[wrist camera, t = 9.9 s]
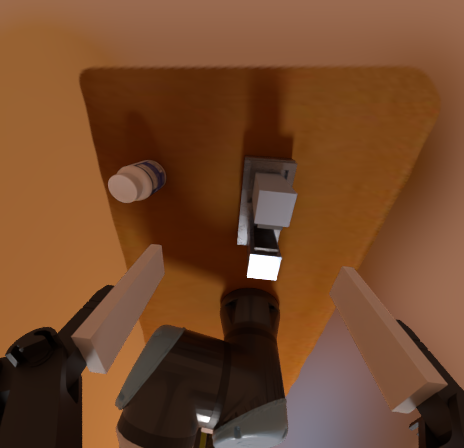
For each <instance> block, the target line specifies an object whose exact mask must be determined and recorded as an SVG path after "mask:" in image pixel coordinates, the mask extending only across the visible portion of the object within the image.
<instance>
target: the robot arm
mask: <svg viewBox="0 0 464 448" xmlns="http://www.w3.org/2000/svg"><path fill="white" fill-rule="evenodd" d="M164 274H165V273H164V264H163V255H162V245H156V244H151V245H150V246H149V247H148V248H147V249H146V250H145V252H144V253H143V254H142V255H141V256H140V257H139V259H138V260H137V261H136V262H135V263H134V264H133V266H132V267H131V268H130V269H129V270H128V271H127V272H126V274H125V275H124V276H123V277H122V278H121V279H120V281H119V282H118V283H117V284H116V285H115V286H112V285H107V286H105V287H103V288H102V289H100V290H99V291H97V292H96V293H95V294H94V295H93V296H92V298H91V299H90V300H89V302H87V303H86V304H85V305H84V306H83V308H82V309H80V310H79V311H78V312H77V313H76V315H74V317H73V318H72V319H71V320H70V321H69V322H68V323H67V324H66V325H65V326H64V327H63V328H62V329H61V330H60V331H59V332H58V333H57V332H56V331H55V330H54V329H53V328H51V327H43V328H39V329H35V330H33V331H31V332H29V333H27V334H25V335H24V336H22V337H21V338H19V339H18V340H16V342H14V344H12V346H10V348H9V349H8V351H7V353H6V354H5V356H6V357H3V358H0V448H82V376H81V373H82V371H83V370H84V369H85V367H86V366H87V367H88V369H89V370H90V372H96V373H103V374H106V373H107V372H108V370H109V368H110V367H111V365H112V363H113V362H114V360H115V358H116V356H117V355H118V353H119V351H120V350H121V348H122V346H123V344H124V343H125V341H126V339H127V337H128V336H129V334H130V332H131V331H132V329H133V327H134V325H135V324H136V322H137V320H138V319H139V317H140V315H141V313H142V312H143V310H144V308H145V307H146V305H147V303H148V301H149V300H150V298H151V296H152V295H153V293H154V291H155V289H156V288H157V286H158V284H159V282H160V281H161V279H162V277H163V276H164ZM329 294H330V296H331V298H332V300H333V302H334V304H335V306H336V307H337V309H338V311H339V313H340V315H341V317H342V319H343V321H344V322H345V324H346V326H347V328H348V330H349V332H350V334H351V336H352V338H353V339H354V341H355V343H356V345H357V347H358V349H359V351H360V353H361V354H362V357H363V359H364V360H365V362H366V364H367V366H368V368H369V370H370V372H371V374H372V375H373V378H374V379H375V381H376V383H377V385H378V387H379V389H380V391H381V392H382V395H383V396H384V398H385V400H386V402H387V404H388V406H389V408H390V410H391V411H394V412H402V413H410V412H411V411H412V410H414V409H415V408H417V409H418V411H419V413H420V414H421V417H420V418H418V419H417V420H415V421H414V422H412V423H411V424H410V426H409V429H410V430H414V429H416V428H417V427H419V428H418V431H419V433H417V435H418V436H419V448H464V390H463V389H462V388H461V387H460V386H459V385H458V384H457V383H456V382H455V380H454V379H453V378H452V377H451V376H450V374H449V373H448V372H447V371H446V370H445V369H444V367H443V366H442V365H441V364H440V363H439V362H438V360H437V359H436V358H435V357H434V356H433V355H432V353H431V352H430V351H428V349H427V347H426V346H425V345H424V344H423V343H422V342H420V339H419V338H418V337H417V336H416V335H415V333H414V332H413V331H412V330H411V329H410V328H409V327H408V326H406V325H405V324H404V323H403V322H402V321H400V320H395V318H394V317H393V316H392V315H391V314H390V312H388V310H387V309H386V307H385V306H384V305H383V304H382V302H381V301H380V300H379V299H378V298H377V296H376V295H375V294H374V293H373V291H372V290H371V289H370V288H369V286H368V285H367V284H366V283H365V282H364V280H363V279H362V278H361V277H360V276H359V274H358V273H357V272H356V270H355V269H354V268H353V267H344V266H342V268H341V270H340V272H339V274H338V276H337V278H336V280H335V282H334V284H333V287H332V289H331V291H330V293H329ZM220 318H221V323H222V328H223V333H224V341H223V340H220V339H217V338H213V337H210V336H207V335H203V334H200V333H197V332H193V331H190V330H187V329H186V328H184V327H183V328H179V327H175V326H171V325H162V326H160V327H159V328H158V329H157V330H156V331H155V332H154V333H153V335H152V336H151V338H150V339H149V341H148V342H147V344H146V346H145V348H144V349H143V351H142V353H141V354H140V356H139V358H138V359H137V361H136V363H135V364H134V366H133V368H132V370H131V372H130V373H129V375H128V377H127V379H126V381H125V383H124V385H123V387H122V389H121V391H120V393H119V395H118V397H117V399H116V402H115V405H116V406H117V407H118V409H119V410H122V409H123V412H122V414H121V416H120V419H119V421H118V424H117V426H116V433H117V437H118V441H119V448H193V446H194V443H195V439H196V434H197V431H198V428H199V427H202V428H207V429H211V430H213V433H212V439H213V445H214V447H215V448H271V447H274V446H276V445H279V444H280V443H281V442H283V440H284V439H285V438H286V436H287V433H288V420H287V408H286V402H287V401H286V399H285V393H284V387H283V380H282V373H281V367H280V360H279V353H278V347H277V333H278V327H279V321H280V310H279V305H278V303H277V301H276V299H275V298H274V297H273V296H272V295H270V294H269V293H267V292H265V291H262V290H258V289H252V288H245V289H239V290H235V291H233V292H231V293H229V294H228V295H226V296H225V297H224V299H223V300H222V303H221V308H220Z"/></svg>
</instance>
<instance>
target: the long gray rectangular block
mask: <svg viewBox="0 0 464 448" xmlns="http://www.w3.org/2000/svg"><path fill="white" fill-rule="evenodd" d="M296 197H297V193H296V192H295V191H294V189H293V188H292V187H291V186H290V184H289V183H288V182H287V181H286V179H285V178H284V177H283V176H282V174H276V173H267V172H257V171H256V172H255V179H254V186H253V192H252V202H253V214H254V223H256V224H257V228H265V229H274V230H282V228H283V227H289V223H290V220H291V216H292V212H293V208H294V205H295V201H296Z"/></svg>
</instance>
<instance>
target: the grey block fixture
mask: <svg viewBox="0 0 464 448" xmlns="http://www.w3.org/2000/svg"><path fill="white" fill-rule="evenodd" d="M296 167H297V163H295V160H293V159H288V158H275V157H262V156H249V155H245V163H244V174H243V185H242V196H241V206H240V217H239V228H238V239H237V244H238V245H247V277H249V278H259V279H269V280H276V278H277V274H278V270H279V266H280V262H281V258H282V257H281V254H280V250H279V246H278V238H279V234H280V230H274V229H265V228H257V224H256V223H254V214H253V202H252V192H253V186H254V179H255V172H256V171H257V172H267V173H276V174H282V176H283V177H284V178H285V179H286V181H287V182H288V183H289V184H290V186H291V187H292V185H293V180H294V176H295V172H296Z"/></svg>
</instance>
